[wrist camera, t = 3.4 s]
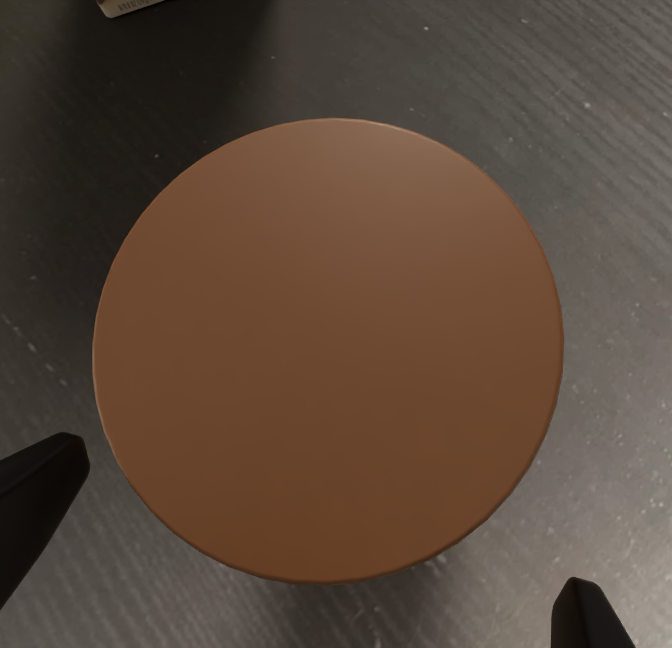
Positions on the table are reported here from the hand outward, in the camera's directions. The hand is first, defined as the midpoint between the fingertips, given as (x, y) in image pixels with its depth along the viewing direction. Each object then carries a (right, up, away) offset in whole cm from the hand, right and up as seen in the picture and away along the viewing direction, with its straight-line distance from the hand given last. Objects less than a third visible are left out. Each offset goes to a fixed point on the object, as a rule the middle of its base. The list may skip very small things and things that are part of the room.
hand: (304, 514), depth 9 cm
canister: (+2, 0, +10) cm, 10 cm away
